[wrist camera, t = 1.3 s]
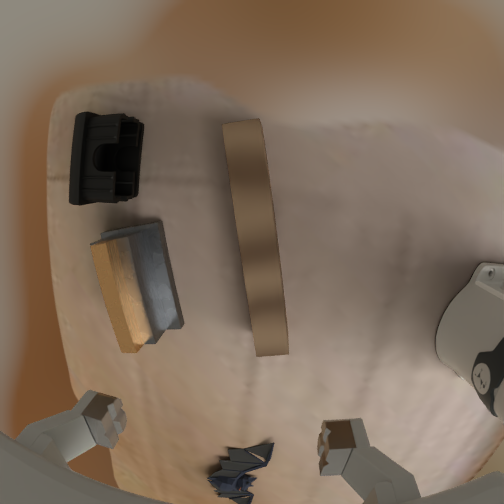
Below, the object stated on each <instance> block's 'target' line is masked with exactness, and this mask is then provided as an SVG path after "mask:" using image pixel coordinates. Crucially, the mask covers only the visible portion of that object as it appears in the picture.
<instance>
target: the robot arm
mask: <svg viewBox="0 0 504 504" xmlns="http://www.w3.org/2000/svg"><path fill="white" fill-rule="evenodd" d="M489 271H490V272H489ZM488 273H489V274H488ZM436 351H437V355H438V357H439V359H440V360H441V362H442V363H444V364H445V365H446V366H448V367H450V368H451V369H453V370H454V371H455V372H456V373H457V375H458V376H459V377H460V378H461V379H462V380H466V381H467V382H468V383H469V384H470V385H471V386H472V387H473V388H474V389H475V390H476V392H477V394H478V396H479V398H480V399H481V401H482V402H483V403H484V405H485V406H486V407H487V409H488V411H490V412H491V413H492V415H493V416H495V417H499V419H500V420H501V422H502V423H503V425H504V264H495V263H481V264H480V265H479V266H478V267H477V268H476V270H475V272H474V274H473V276H472V278H471V280H470V282H469V283H468V284H467V285H466V286H465V287H464V288H463V289H462V290H461V291H460V292H459V293H458V294H457V296H456V297H455V298H454V299H453V300H452V302H451V303H450V305H449V306H448V308H447V309H446V311H445V313H444V315H443V317H442V319H441V321H440V324H439V327H438V331H437V335H436ZM122 406H123V404H122V401H121V399H119V398H116V397H113V396H109V395H106V394H103V393H99V392H96V391H92V390H88V391H87V392H86V393H85V394H84V395H83V397H82V398H81V399H80V400H79V402H78V403H77V404H76V405H75V406H74V408H73V409H72V410H71V411H69V410H67V411H65V412H62V413H60V414H57V415H54V416H51V417H49V418H46V419H43V420H40V421H37V422H34V423H32V424H28V425H27V427H26V428H25V429H24V430H23V431H22V432H21V433H20V434H19V436H18V437H17V438H16V439H15V440H14V439H12V438H10V437H9V436H7V435H6V434H4V433H3V432H1V431H0V504H172V503H168V502H164V501H159V500H155V499H151V498H148V497H144V496H141V495H137V494H134V493H130V492H127V491H124V490H121V489H118V488H115V487H112V486H109V485H107V484H104V483H101V482H99V481H96V480H93V479H91V478H88V477H86V476H83V475H81V474H79V473H76V472H74V471H72V470H71V469H70V467H69V466H68V464H67V462H68V461H70V460H72V459H73V458H75V457H77V456H79V455H80V454H82V453H84V452H85V451H87V450H89V449H90V448H92V447H94V446H95V445H96V444H98V445H101V446H104V447H108V448H111V449H114V447H115V445H116V443H117V442H118V440H119V437H118V434H120V433H122V432H123V431H124V429H125V427H126V422H127V418H126V413H125V412H124V411H123V410H122V409H121V407H122ZM321 429H322V432H321V433H320V434H319V437H318V445H317V450H318V455H319V456H320V457H321V458H320V461H319V469H320V476H331V475H341V476H342V477H343V478H344V479H345V480H346V481H347V483H348V484H349V485H350V486H351V487H352V488H353V489H354V490H355V491H356V492H357V493H358V494H359V495H360V496H361V498H362V499H363V500H364V502H363V504H504V473H501V472H492V473H489V474H486V475H484V476H482V477H480V478H477V479H475V480H472V481H470V482H467V483H465V484H462V485H459V486H457V487H454V488H451V489H448V490H445V491H442V492H439V493H436V494H432V495H429V496H426V497H422V498H421V496H420V493H419V490H418V487H417V484H416V481H415V478H414V476H413V475H412V474H411V473H410V472H408V471H407V470H405V469H404V468H403V467H401V466H400V465H398V464H397V463H396V462H394V461H393V460H391V459H390V458H389V457H387V456H386V455H385V454H383V453H382V452H381V451H379V450H378V449H377V448H375V447H374V446H373V447H370V444H369V440H368V437H367V433H366V430H365V427H364V424H363V420H362V419H361V418H355V419H340V420H323V422H322V426H321Z"/></svg>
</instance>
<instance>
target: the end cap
mask: <svg viewBox="0 0 504 504" xmlns="http://www.w3.org/2000/svg"><path fill="white" fill-rule="evenodd" d="M143 133H144V124H143V123H141V122H139V120H137V119H136V118H135V117H128V116H126V115H125V114H124V113H123V114H110V115H98V114H95V113H91V112H82V113H79V114H77V115H76V117H75V125H74V133H73V142H72V153H71V166H70V184H69V203H70V204H73V205H85V204H90V203H96V202H103V203H118V202H119V201H128V200H129V199H132V198H134V197H137V196H138V191H139V176H140V163H141V152H142V142H143Z"/></svg>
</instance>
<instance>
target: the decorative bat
mask: <svg viewBox="0 0 504 504" xmlns="http://www.w3.org/2000/svg"><path fill="white" fill-rule="evenodd" d="M273 447H274V443H270V444H266V445H261V446H257V447H251V448H246V449H228V452H229V456H230V460H231V461H230V460H219V461H220V464H221V466H222V470H220V471H217V472H215V473H213V474H212V475H211V476H209V478H207V479H210V480H212V481H210V480H208V481H209V482H210V483H211V484H212V485H213V486H214V487H215V488H216V489H217V490H214V491H216V492H219V493H222V494H220V495H219V496H218V497H225V498H229V499H232V500H233V501H235V502H236V503H238V504H251V502H252V499H253V496H254V495H253V494H252V493H250V492H248V491H246V490H248V487H250V486H253V485H251V482H253V481H254V480H256V479H257V478H251V477H250V476H248V475H245V473H246V472H249V471H253V470H256V469H259V468H262V467H266V466H267V464H268V462H269V461H270V459H271V455H272V451H273ZM246 450H247V451H246ZM248 451H249V452H251V453H254V454H256V455H258V456H261V457H263V458H264V459H265V460H266V462H263V461H262V460H260V459H259V458H257V457H255V456H254V455H252V454H251V453H249V452H248ZM242 495H246V496H251V497H247V498H241V497H246V496H242ZM236 496H238V497H236Z"/></svg>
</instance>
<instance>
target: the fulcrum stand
mask: <svg viewBox="0 0 504 504" xmlns="http://www.w3.org/2000/svg"><path fill="white" fill-rule="evenodd" d="M101 238H102V239H101V240H98V241H95V242H93V243H90V245H91V246H90V247H91V251H92V256H93V260H94V264H95V268H96V272H97V276H98V279H99V283H100V287H101V290H102V294H103V297H104V301H105V304H106V307H107V311H108V314H109V317H110V320H111V323H112V326H113V329H114V332H115V335H116V338H117V341H118V344H119V347H120V349H121V352H122V353H137V352H138V351H139V350H140V348H141V347H142V346H143V345H144V344H156V343H157V341H158V340H159V339H160V337H161V336H162V334H163V333H164V332H165V330H166V329H181V328H182V327H183V325H184V319H183V315H182V311H181V307H180V303H179V299H178V295H177V290H176V286H175V281H174V277H173V272H172V268H171V263H170V258H169V253H168V248H167V243H166V238H165V233H164V228H163V222H162V221H159V222H153V223H147V224H142V225H136V226H131V227H125V228H120V229H115V230H110V231H106V232H103V233H101Z"/></svg>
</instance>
